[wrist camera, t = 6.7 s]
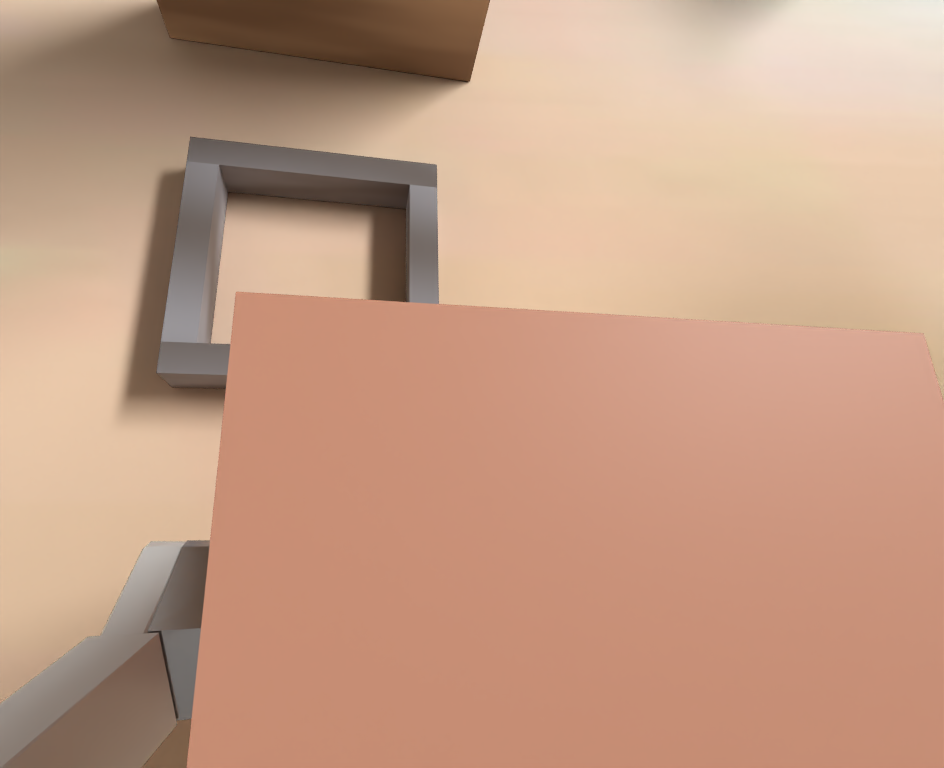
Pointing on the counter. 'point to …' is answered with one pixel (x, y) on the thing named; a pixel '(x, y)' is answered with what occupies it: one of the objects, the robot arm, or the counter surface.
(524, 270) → the counter surface
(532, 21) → the counter surface
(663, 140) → the counter surface
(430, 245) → the socket stand
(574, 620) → the peg
